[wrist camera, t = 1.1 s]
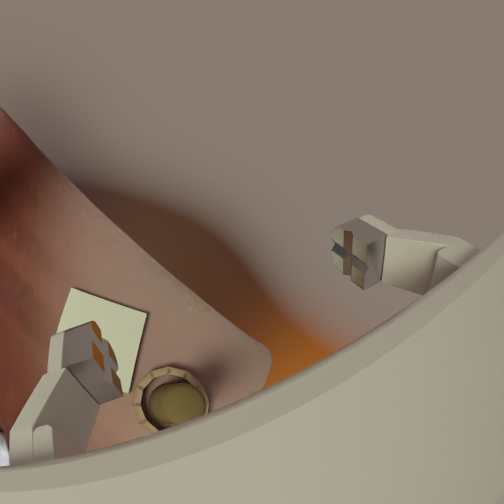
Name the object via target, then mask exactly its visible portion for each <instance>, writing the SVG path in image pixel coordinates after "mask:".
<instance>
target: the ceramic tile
mask: <svg viewBox="0 0 504 504" xmlns="http://www.w3.org/2000/svg"><path fill="white" fill-rule="evenodd" d="M146 316H147V314H146V313H143V312H140V311H137V310H134V309H131V308H128V307H125V306H122V305H119V304H116V303H113V302H110V301H107V300H104V299H101V298H98V297H96V296H93V295H90V294H87V293H85V292H82V291H79V290H76V289H74V288H71V290H70V293H69V296H68V299H67V302H66V305H65V308H64V311H63V314H62V317H61V320H60V323H59V326H58V329H57V333H59V332H61V331H64V330H67V329H70V328H73V327H76V326H78V325H81V324H84V323H87V322H90V321H95V322H96V323H97V325H98V326H99V328H100V329H101V336H102V338H104V339H106V340H108V342H109V343H110V345H111V347H112V349H113V351H114V353H115V356H116V359H117V362H118V370H117V372H116V374H117V375H118V377H119V378H120V380H121V386H122V391H123V392H125V393H129V389H130V384H131V379H132V375H133V370H134V365H135V361H136V357H137V352H138V348H139V344H140V339H141V335H142V331H143V327H144V323H145V319H146Z"/></svg>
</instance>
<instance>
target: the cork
mask: <svg viewBox="0 0 504 504" xmlns="http://www.w3.org/2000/svg"><path fill="white" fill-rule="evenodd" d="M206 407H207V405H206V399H205V397H204V395H203V393H202V392H201V391H200V390H199V389H198V388H197V387H195V386H193V385H191V384H187V383H177V384H162V385H160V386H158V387H156V388H155V389H154V390H153V391H152V393H151V395H150V398H149V408H150V411H151V412H152V414H153V416H154V417H155V418H156V419H157V420H159V421H161V422H163V423H166V424H175V425H178V424H181V423H183V422H186V421H189V420H191V419H194V418H197V417H199V416H202V415H204V414H205V413H206Z"/></svg>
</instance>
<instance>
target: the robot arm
mask: <svg viewBox="0 0 504 504" xmlns="http://www.w3.org/2000/svg"><path fill="white" fill-rule="evenodd" d="M332 240H333V241H334V242H335V245H334V247H333V249H332V259H333V262H334V265H335V266H336V268H337V269H338V270H339V271H340V272H341V273H342V274H345V275H350V276H351V281H352V282H353V283H355V284H356V285H357V286H359V287H360V288H361V289H362V290H365V289H367V288H369V287H371V286H373V285H375V284H377V283H379V282H380V281H382V282H383V283H386V284H389V285H392V286H395V287H398V288H402V289H405V290H408V291H411V292H414V293H417V294H420V295H423V296H421V297H420V298H418V299H417V300H416V301H414V302H413V303H411V304H410V305H409V306H407V307H406V308H404V309H403V310H401V311H400V312H398V313H397V314H395V315H394V316H392V317H391V318H389V319H388V320H386V321H385V322H383V323H381V324H380V325H378V326H377V327H375V328H374V329H372V330H370V331H369V332H367V333H366V334H364V335H362V336H361V337H359V338H357V339H356V340H354V341H352V342H351V343H349V344H347V345H346V346H344V347H342V348H341V349H339V350H337V351H335V352H334V353H332V354H330V355H328V356H326V357H325V358H323V359H321V360H319V361H317V362H316V363H314V364H312V365H310V366H308V367H306V368H304V369H302V370H301V371H299V372H297V373H295V374H293V375H291V376H289V377H287V378H285V379H283V380H281V381H279V382H277V383H275V384H273V385H271V386H269V387H266V388H264V389H262V390H260V391H258V392H256V393H254V394H251V395H249V396H247V397H245V398H242V399H240V400H238V401H236V402H233V403H231V404H229V405H226V406H224V407H222V408H219V409H217V410H214V411H212V412H209V413H207V414H204V415H202V416H199V417H197V418H194V419H191V420H189V421H186V422H183V423H181V424H178V425H175V426H172V427H169V428H167V429H164V430H161V431H158V432H155V433H152V434H149V435H146V436H142V437H139V438H136V439H133V440H129V441H126V442H122V443H119V444H115V445H112V446H108V447H104V448H100V449H97V450H93V451H88V452H86V448H87V445H88V442H89V438H90V435H91V432H92V429H93V426H94V423H95V420H96V417H97V414H98V411H99V408H100V404H103V403H106V402H109V401H111V400H114V399H117V398H120V397H122V396H123V391H122V386H121V380H120V378H119V377H118V375H117V374H116V372H117V370H118V362H117V359H116V356H115V353H114V351H113V349H112V347H111V345H110V343H109V342H108V340H106V339H104V338H102V336H101V329H100V328H99V326H98V325H97V323H96V322H95V321H90V322H87V323H84V324H81V325H78V326H76V327H73V328H70V329H67V330H64V331H61V332H59V333H56V334H53V335H52V336H51V339H50V348H49V359H48V373H47V374H44V375H43V377H42V378H41V380H40V381H39V383H38V385H37V386H36V388H35V389H34V391H33V393H32V394H31V396H30V398H29V399H28V401H27V403H26V404H25V406H24V408H23V410H22V411H21V413H20V415H19V417H18V418H17V420H16V422H15V424H14V425H13V427H12V429H11V431H10V466H3V467H0V504H504V230H503V231H502V232H501V233H500V234H499V235H498V236H496V237H495V238H494V239H493V240H492V241H491V242H490V243H489V244H487V245H486V246H485V247H484V248H483V249H482V250H479V249H478V248H476V247H474V246H473V245H471V244H469V243H467V242H466V241H464V240H462V239H460V238H459V237H453V236H447V235H440V234H434V233H427V232H420V231H413V230H406V229H400V230H398V229H396V228H394V227H392V226H391V225H389V224H387V223H385V222H383V221H381V220H379V219H378V218H376V217H374V216H372V215H370V214H365V215H363V216H361V217H358V218H356V219H354V220H352V221H349V222H347V223H345V224H342V225H340V226H337V227H335V228H333V230H332Z"/></svg>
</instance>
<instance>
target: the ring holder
mask: <svg viewBox="0 0 504 504" xmlns="http://www.w3.org/2000/svg"><path fill="white" fill-rule="evenodd" d="M164 375H171V376H175V377H179V378H183V379H184V380H185V381H186V382H187V383H188V384H191V385H193V386H195V387H197V388H198V389H199V390H200V391H201V392H202V393H203V395H204V397H205V399H206V405H207V407H206V413H205V414H207V413H208V408H209V400H208V397H207V395H206V392H205V390H204V387H203V384H202V383H200V382H199V381H198V380H197V379H196V378H195V377H194V376H192V375H191V374H190V373H189V372H188V371H185V370H181V369H177V368H173V367H169V366H168V367H165V368H161V369H157V370H153V371H149V372H148V374H147V375H146V376H145V377H144V378H143V379H142V380H141V381H140V382H139V383H138V384H137V385H136V387H135V392H134V397H133V402H132V405H133V408H134V411H135V414H136V416H137V419H138V421H139V424H141V425H142V426H143V427H144V428H145V429H147V430H148V431H149V432H150V433H151V434H152V433H155V432H158V431H161V430H157V429H156V428H155V427H154V426H152V425H151V424H150V423H149V422H148V421H147V420H146V419H145V416H144V413H143V411H142V408H141V405H140V403H141V398H142V393H143V389H144V388H145V387H146V386H147V385H148V383H149V382H150V381H151V380H152V379H153V378H156V377H160V376H164Z"/></svg>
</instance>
